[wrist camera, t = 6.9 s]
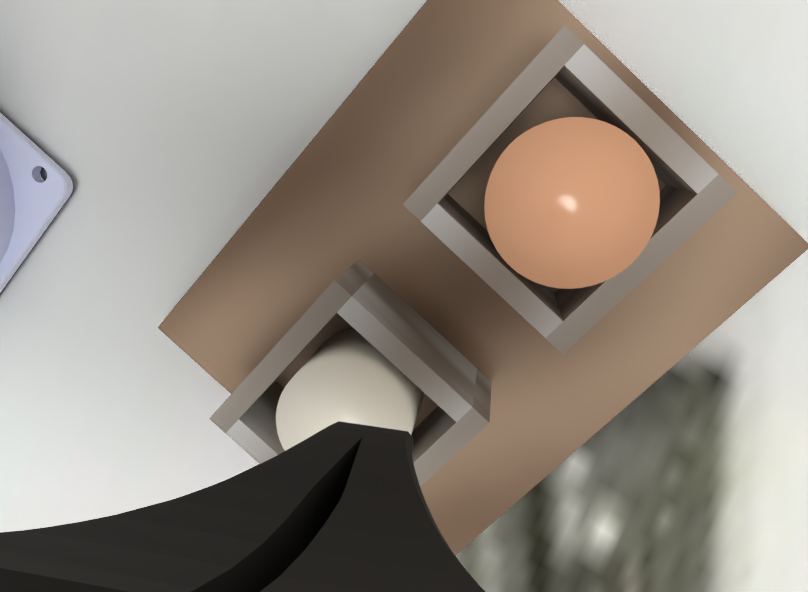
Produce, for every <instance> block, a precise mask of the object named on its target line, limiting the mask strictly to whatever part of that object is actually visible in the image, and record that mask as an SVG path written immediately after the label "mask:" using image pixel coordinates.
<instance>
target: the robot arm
mask: <svg viewBox="0 0 808 592" xmlns="http://www.w3.org/2000/svg"><path fill="white" fill-rule="evenodd" d="M42 167H43V168H44V169H45V170H46V172H47V179H46V181H44V180H43V179H42V177H41V174H40V171H41V168H42ZM72 190H73V183H72V180H71V178H70V176H69V175H68V174H67V173H66V172H65V171H64V170H63V169H62V168H61V167H60V166H59V165H58V164H56V163H55V162H54V161H53V160H52V159H51V158H50V157H49V156H48V155H47V154H45V153H44V152H43V151H42V150H41V149H40V148H39V147H38V146H37V145H36V144H34V143H33V142H32V141H31V140H30V139H29V138H28V137H27V136H26V135H24V134H23V133H22V132H21V131H20V130H19V129H18V128H17V127H16V126H15V125H13V124H12V123H11V122H10V121H9V120H8V119H7V118H6V117H5V116H4V115H2V114H1V113H0V293H1V291H2V290H3V288H4V287H5V286H6V284H7V283H8V282H9V280H10V279H11V277H12V276H13V275H14V273H15V272H16V270H17V269H18V268H19V266H20V265H21V263H22V262H23V261H24V259H25V258H26V256H27V255H28V254H29V252H30V251H31V249H32V248H33V247H34V245H35V244H36V242H37V241H38V240H39V238H40V237H41V236H42V234H43V233H44V231H45V230H46V229H47V227H48V226H49V224H50V223H51V222H52V220H53V219H54V217H55V216H56V215H57V213H58V212H59V210H60V209H61V208H62V206H63V205H64V203H65V202H66V201H67V199H68V198H69V196H70V195H71V193H72ZM413 440H414V439H413V437H412V436H411V435H410V433H409V432H408V431H402V430H395V429H388V428H381V427H375V426H368V425H361V424H354V423H347V422H340V421H338V422H336V423H334V424H332V425H330V426H328V427H326V428H324V429H323V430H321V431H319V432H318V433H316V434H314V435H312V436H311V437H309V438H307V439H305V440H304V441H302V442H300V443H298V444H297V445H295V446H293V447H291V448H290V449H288V450H286V451H284V452H282V453H281V454H279V455H277V456H275V457H273V458H271V459H269V460H267V461H265V462H263V463H261V464H259V465H257V466H255V467H253V468H251V469H249V470H247V471H244V472H242V473H240V474H238V475H236V476H234V477H232V478H230V479H227V480H225V481H223V482H220V483H218V484H215V485H213V486H210V487H208V488H205V489H202V490H199V491H196V492H194V493H191V494H188V495H185V496H182V497H179V498H176V499H173V500H170V501H166V502H162V503H159V504H155V505H151V506H147V507H144V508H140V509H136V510H132V511H129V512H125V513H121V514H117V515H113V516H108V517H103V518H98V519H93V520H88V521H83V522H78V523H72V524H65V525H59V526H53V527H47V528H40V529H32V530H24V531H14V532H3V533H0V592H485V591H484V590H483V589H482V588H481V587H480V586H479V585H478V584H477V582H476V581H475V580H474V579H473V578H472V577H471V575H470V574H469V573H468V572H467V571H466V569H465V568H464V567H463V566H462V565H461V563H460V562H459V560H458V559H457V558H456V556H455V555H454V553H453V552H452V550H451V549H450V547H449V546H448V544H447V542H446V541H445V539H444V537H443V536H442V534H441V532H440V531H439V529H438V527H437V525H436V523H435V521H434V519H433V517H432V515H431V513H430V510H429V508H428V506H427V504H426V501H425V499H424V496H423V494H422V491H421V488H420V485H419V481H418V478H417V475H416V472H415V468H414V463H413V457H412V450H413Z"/></svg>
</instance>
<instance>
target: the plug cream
mask: <svg viewBox="0 0 808 592" xmlns="http://www.w3.org/2000/svg"><path fill="white" fill-rule="evenodd" d="M423 393H424V392H423V391H422V390H421V389H420V388H419V387H417V386H416V385H415V384H414V383H413V382H412V381H411V380H410V379H409V378H408V377H407V376H405V375H404V374H403V373H402V372H401V371H400V370H399V369H398V368H397V367H396V366H395V365H393V364H392V363H391V362H390V361H389V360H388V359H387V358H386V357H385V356H384V355H383V354H381V353H380V352H379V351H378V350H377V349H376V348H375V347H374V346H373V345H372V344H371V343H369V342H368V341H367V340H366V339H365V338H364V337H363V336H362V335H361V334H360V333H359V332H357V331H356V330H355V329H354V328H353V329H348V330H345V331H342V332H339V333H337V334H335V335H333V336H332V337H330V338H329V339H327V340H326V341H325V342H324V343H323V344H322V345H321V346H320V347H319V348H318V349H317V351H316V352H315V353H314V354H313V355H312V356H311V357H310V358H309V360H308V361H307V362H306V363H305V364H304V365H303V366H302V367H301V369H300V370H299V371H298V372H297V373H296V374H295V375H294V376H293V378H292V379H291V380H290V381H289V382H288V384H287V385H286V386H285V388H284V390H283V391H282V393H281V396H280V398H279V401H278V405H277V410H276V427H277V433H278V436H279V440H280V442H281V444H282V447H283V449H284V450H285V451H286V450H288V449H290V448H291V447H293V446H295V445H297V444H298V443H300V442H302V441H304V440H305V439H307V438H309V437H311V436H312V435H314V434H316V433H318V432H319V431H321V430H323V429H324V428H326V427H328V426H330V425H332V424H334V423H336V422H338V421H340V422H347V423H354V424H361V425H368V426H375V427H381V428H388V429H395V430H402V431H408V432H409V433H410V435H411V434H412V431H413V428H414V425H415V422H416V418H417V415H418V412H419V409H420V406H421V403H422V399H423Z"/></svg>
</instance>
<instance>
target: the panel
mask: <svg viewBox="0 0 808 592" xmlns="http://www.w3.org/2000/svg"><path fill="white" fill-rule="evenodd" d="M567 117H585V118H592V119H597V120H600V121H604V122H607V123H609V124H611V125H613V126H616V127H617V128H619V129H621V130H622V131H624V132H625V133H627V134H628V135H629V136H630V137H632V138H633V139H634V140H635V141H636V142H637V143H638V144H639V145H640V146H641V148H642V149H643V150H644V152H645V153H646V154H647V156H648V157H649V159H650V161H651V163H652V165H653V167H654V170H655V173H656V176H657V179H658V185H659V191H660V206H659V214H658V219H657V223H656V226H655V229H654V231H653V234H652V236H651V238H650V240H649V242H648V244H647V245H646V247H645V248H644V250H643V251H642V252H641V254H640V255H639V256H638V257H637V258H636V259H635V260H634V262H633V263H632V264H631V265H629V266H628V267H627V268H626V269H624V270H623V271H622V272H620V273H619V274H617V275H616V276H614V277H612V278H610V279H608V280H606V281H604V282H602V283H599V284H596V285H593V286H588V287H583V288H574V289H562V288H554V287H548V286H545V285H541V284H538V283H536V282H534V281H531V280H529V279H527V278H525V277H524V276H522V275H521V274H519V273H518V272H516V271H515V270H514V269H513V268H512V267H510V266H509V265H508V264H507V263H506V261H505V260H504V259H503V258H502V257H501V255H500V254H499V253H498V251H497V250H496V248H495V246H494V244H493V242H492V240H491V238H490V235H489V232H488V230H487V225H486V221H485V211H484V203H485V193H486V187H487V184H488V181H489V177H490V174H491V172H492V169H493V167H494V165H495V163H496V161H497V159H498V158H499V156H500V154H501V153H502V152H503V150H504V149H505V148H506V147H507V145H508V144H509V143H511V142H512V141H513V140H514V139H515V138H516V137H518V136H519V135H520V134H522V133H523V132H525V131H527V130H529V129H530V128H532V127H535V126H537V125H540V124H542V123H545V122H547V121H551V120H555V119H559V118H567ZM807 249H808V243H807V242H806V241H805V240H804V239H803V238H802V237H801V236H800V235H799V234H798V233H797V232H796V231H795V230H794V229H793V228H792V227H791V226H790V225H788V224H787V223H786V222H785V221H784V220H783V219H782V218H781V217H780V216H779V215H778V214H777V213H776V212H775V211H774V210H773V209H772V208H771V207H770V206H769V205H768V204H767V203H766V202H765V201H764V200H763V199H762V198H761V197H760V196H759V195H758V194H757V193H755V192H754V191H753V190H752V189H751V188H750V187H749V186H748V185H747V184H746V183H745V182H744V181H743V180H742V179H741V178H740V177H739V176H738V175H737V174H736V173H735V172H734V171H733V170H732V169H731V168H730V167H729V166H728V165H727V164H726V163H725V162H724V161H722V160H721V159H720V158H719V157H718V156H717V155H716V154H715V153H714V152H713V151H712V150H711V149H710V148H709V147H708V146H707V145H706V144H705V143H704V142H703V141H702V140H701V139H700V138H699V137H698V136H697V135H696V134H695V133H694V132H693V131H692V130H691V129H689V128H688V127H687V126H686V125H685V124H684V123H683V122H682V121H681V120H680V119H679V118H678V117H677V116H676V115H675V114H674V113H673V112H672V111H671V110H670V109H669V108H668V107H667V106H666V105H665V104H664V103H663V102H662V101H661V100H660V99H659V98H658V97H656V96H655V95H654V94H653V93H652V92H651V91H650V90H649V89H648V88H647V87H646V86H645V85H644V84H643V83H642V82H641V81H640V80H639V79H638V78H637V77H636V76H635V75H634V74H633V73H632V72H631V71H630V70H629V69H628V68H627V67H626V66H625V65H623V64H622V63H621V62H620V61H619V60H618V59H617V58H616V57H615V56H614V55H613V54H612V53H611V52H610V51H609V50H608V49H607V48H606V47H605V46H604V45H603V44H602V43H601V42H600V41H599V40H598V39H597V38H596V37H595V36H594V35H593V34H591V33H590V32H589V31H588V30H587V29H586V28H585V27H584V26H583V25H582V24H581V23H580V22H579V21H578V20H577V19H576V18H575V17H574V16H573V15H572V14H571V13H570V12H569V11H568V10H567V9H566V8H565V7H564V6H563V5H562V4H561V3H560V2H558V1H557V0H427V1H426V3H425V4H424V5H423V6H422V7H421V9H420V10H419V11H418V12H417V14H416V15H415V16H414V17H413V18H412V20H411V21H410V22H409V23H408V24H407V26H406V27H405V28H404V29H403V31H402V32H401V33H400V34H399V35H398V37H397V38H396V39H395V40H394V41H393V43H392V44H391V45H390V46H389V48H388V49H387V50H386V51H385V52H384V54H383V55H382V56H381V57H380V58H379V60H378V61H377V62H376V63H375V65H374V66H373V67H372V68H371V69H370V71H369V72H368V73H367V74H366V75H365V77H364V78H363V79H362V80H361V82H360V83H359V84H358V85H357V86H356V88H355V89H354V90H353V91H352V92H351V94H350V95H349V96H348V97H347V99H346V100H345V101H344V102H343V103H342V105H341V106H340V107H339V108H338V109H337V111H336V112H335V113H334V114H333V116H332V117H331V118H330V119H329V120H328V122H327V123H326V124H325V125H324V126H323V128H322V129H321V130H320V131H319V133H318V134H317V135H316V136H315V137H314V139H313V140H312V141H311V142H310V143H309V145H308V146H307V147H306V148H305V150H304V151H303V152H302V153H301V154H300V156H299V157H298V158H297V159H296V160H295V162H294V163H293V164H292V165H291V166H290V168H289V169H288V170H287V171H286V173H285V174H284V175H283V176H282V177H281V179H280V180H279V181H278V182H277V183H276V185H275V186H274V187H273V188H272V190H271V191H270V192H269V193H268V194H267V196H266V197H265V198H264V199H263V200H262V202H261V203H260V204H259V205H258V207H257V208H256V209H255V210H254V211H253V213H252V214H251V215H250V216H249V217H248V219H247V220H246V221H245V222H244V224H243V225H242V226H241V227H240V228H239V230H238V231H237V232H236V233H235V234H234V236H233V237H232V238H231V239H230V241H229V242H228V243H227V244H226V245H225V247H224V248H223V249H222V250H221V251H220V253H219V254H218V255H217V256H216V258H215V259H214V260H213V261H212V262H211V264H210V265H209V266H208V267H207V268H206V270H205V271H204V272H203V273H202V275H201V276H200V277H199V278H198V279H197V281H196V282H195V283H194V284H193V285H192V287H191V288H190V289H189V290H188V292H187V293H186V294H185V295H184V296H183V298H182V299H181V300H180V301H179V302H178V304H177V305H176V306H175V307H174V309H173V310H172V311H171V312H170V313H169V315H168V316H167V317H166V318H165V319H164V321H163V322H162V323H161V324H160V326H159V327H158V328H159V329H160V330H161V331H162V332H163V333H164V334H165V335H166V336H168V337H169V338H170V339H171V340H172V341H173V342H174V343H175V344H176V345H178V346H179V347H180V348H181V349H182V350H183V351H184V352H185V353H186V354H188V355H189V356H190V357H191V358H192V359H193V360H194V361H195V362H196V363H198V364H199V365H200V366H201V367H202V368H203V369H204V370H205V371H207V372H208V373H209V374H210V375H211V376H212V377H213V378H214V379H215V380H217V381H218V382H219V383H220V384H221V385H222V386H223V387H224V388H225V389H227V390H228V391H229V392H230V393H231V395H230V396H229V398H228V399H227V400H226V401H225V402H224V403H223V404H222V405H221V406H220V408H219V409H218V410H217V411H216V412H215V413H214V414H213V415H212V416H211V418H210V420H211V421H213V422H214V423H215V424H216V425H217V426H218V427H219V428H220V429H222V430H223V431H224V432H225V433H226V434H227V435H228V436H229V437H230V438H232V439H233V440H234V441H235V442H236V443H237V444H238V445H239V446H241V447H242V448H243V449H244V450H245V451H246V452H247V453H248V454H249V455H251V456H252V457H253V458H254V459H255V460H256V461H257V462H258V463H260V464H261V463H263V462H265V461H267V460H269V459H271V458H273V457H275V456H277V455H279V454H281V453H282V452H284V451H285V450H284V449H283V447H282V444H281V442H280V440H279V436H278V433H277V427H276V410H277V405H278V401H279V398H280V396H281V393H282V391H283V390H284V388H285V386H286V385H287V384H288V382H289V381H290V380H291V379H292V378H293V376H294V375H295V374H296V373H297V372H298V371H299V370H300V369H301V367H302V366H303V365H304V364H305V363H306V362H307V361H308V360H309V358H310V357H311V356H312V355H313V354H314V353H315V352H316V351H317V349H318V348H319V347H320V346H321V345H322V344H323V343H324V342H325V341H326V340H327V339H329V338H330V337H332V336H333V335H335V334H337V333H339V332H342V331H345V330H348V329H353V328H354V329H355V330H356V331H357V332H359V333H360V334H361V335H362V336H363V337H364V338H365V339H366V340H367V341H368V342H369V343H371V344H372V345H373V346H374V347H375V348H376V349H377V350H378V351H379V352H380V353H381V354H383V355H384V356H385V357H386V358H387V359H388V360H389V361H390V362H391V363H392V364H393V365H395V366H396V367H397V368H398V369H399V370H400V371H401V372H402V373H403V374H404V375H405V376H407V377H408V378H409V379H410V380H411V381H412V382H413V383H414V384H415V385H416V386H417V387H419V388H420V389H421V390H422V391H423V392H424V393H423V399H422V403H421V406H420V409H419V412H418V415H417V418H416V422H415V425H414V428H413V431H412V434H411V436H412V437H413V439H414V440H413V450H412V457H413V463H414V468H415V472H416V475H417V478H418V481H419V485H420V488H421V491H422V494H423V496H424V499H425V501H426V504H427V506H428V508H429V510H430V513H431V515H432V517H433V519H434V521H435V523H436V525H437V527H438V529H439V531H440V532H441V534H442V536H443V537H444V539H445V541H446V542H447V544H448V546H449V547H450V549H451V550H452V552H453V553H454V555H456V554H457V553H458V552H460V551H461V550H462V549H463V548H464V547H465V546H466V545H468V544H469V543H470V542H471V541H472V540H473V539H474V538H476V537H477V536H478V535H479V534H480V533H481V532H483V531H484V530H485V529H486V528H487V527H488V526H489V525H491V524H492V523H493V522H494V521H495V520H496V519H497V518H499V517H500V516H501V515H502V514H503V513H504V512H506V511H507V510H508V509H509V508H510V507H511V506H512V505H514V504H515V503H516V502H517V501H518V500H519V499H521V498H522V497H523V496H524V495H525V494H526V493H527V492H529V491H530V490H531V489H532V488H533V487H534V486H535V485H537V484H538V483H539V482H540V481H541V480H542V479H544V478H545V477H546V476H547V475H548V474H549V473H550V472H552V471H553V470H554V469H555V468H556V467H557V466H558V465H560V464H561V463H562V462H563V461H564V460H565V459H567V458H568V457H569V456H570V455H571V454H572V453H573V452H575V451H576V450H577V449H578V448H579V447H580V446H582V445H583V444H584V443H585V442H586V441H587V440H588V439H590V438H591V437H592V436H593V435H594V434H595V433H596V432H598V431H599V430H600V429H601V428H602V427H603V426H605V425H606V424H607V423H608V422H609V421H610V420H611V419H613V418H614V417H615V416H616V415H617V414H618V413H619V412H621V411H622V410H623V409H624V408H625V407H626V406H628V405H629V404H630V403H631V402H632V401H633V400H634V399H636V398H637V397H638V396H639V395H640V394H641V393H642V392H644V391H645V390H646V389H647V388H648V387H649V386H651V385H652V384H653V383H654V382H655V381H656V380H657V379H659V378H660V377H661V376H662V375H663V374H664V373H666V372H667V371H668V370H669V369H670V368H671V367H672V366H674V365H675V364H676V363H677V362H678V361H679V360H680V359H682V358H683V357H684V356H685V355H686V354H687V353H689V352H690V351H691V350H692V349H693V348H694V347H695V346H697V345H698V344H699V343H700V342H701V341H702V340H703V339H705V338H706V337H707V336H708V335H709V334H710V333H712V332H713V331H714V330H715V329H716V328H717V327H718V326H720V325H721V324H722V323H723V322H724V321H725V320H727V319H728V318H729V317H730V316H731V315H732V314H733V313H735V312H736V311H737V310H738V309H739V308H740V307H741V306H743V305H744V304H745V303H746V302H747V301H748V300H750V299H751V298H752V297H753V296H754V295H755V294H756V293H758V292H759V291H760V290H761V289H762V288H763V287H764V286H766V285H767V284H768V283H769V282H770V281H771V280H773V279H774V278H775V277H776V276H777V275H778V274H779V273H781V272H782V271H783V270H784V269H785V268H786V267H788V266H789V265H790V264H791V263H792V262H793V261H794V260H796V259H797V258H798V257H799V256H800V255H801V254H802V253H804V252H805V251H806V250H807Z"/></svg>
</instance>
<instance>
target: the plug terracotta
mask: <svg viewBox="0 0 808 592" xmlns="http://www.w3.org/2000/svg"><path fill="white" fill-rule="evenodd" d="M659 206H660V191H659V185H658V179H657V176H656V173H655V170H654V167H653V165H652V163H651V161H650V159H649V157H648V156H647V154H646V153H645V152H644V150H643V149H642V148H641V146H640V145H639V144H638V143H637V142H636V141H635V140H634V139H633V138H632V137H630V136H629V135H628V134H627V133H625V132H624V131H622V130H621V129H619V128H617V127H616V126H613V125H611V124H609V123H607V122H604V121H600V120H597V119H592V118H585V117H567V118H559V119H555V120H551V121H547V122H545V123H542V124H540V125H537V126H535V127H532V128H530V129H529V130H527V131H525V132H523V133H522V134H520V135H519V136H518V137H516V138H515V139H514V140H513V141H512V142H511V143H509V144H508V145H507V147H506V148H505V149H504V150H503V152H502V153H501V154H500V156H499V158H498V159H497V161H496V163H495V165H494V167H493V169H492V172H491V174H490V177H489V181H488V184H487V187H486V193H485V203H484V211H485V221H486V225H487V230H488V232H489V235H490V238H491V240H492V242H493V244H494V246H495V248H496V250H497V251H498V253H499V254H500V255H501V257H502V258H503V259H504V260H505V261H506V263H507V264H508V265H509V266H510V267H512V268H513V269H514V270H515V271H516V272H518V273H519V274H521V275H522V276H524V277H525V278H527V279H529V280H531V281H534V282H536V283H538V284H541V285H545V286H548V287H554V288H562V289H574V288H583V287H588V286H593V285H596V284H599V283H602V282H604V281H606V280H608V279H610V278H612V277H614V276H616V275H617V274H619V273H620V272H622V271H623V270H624V269H626V268H627V267H628V266H629V265H631V264H632V263H633V262H634V260H635V259H636V258H637V257H638V256H639V255H640V254H641V252H642V251H643V250H644V248H645V247H646V245H647V244H648V242H649V240H650V238H651V236H652V234H653V231H654V229H655V226H656V223H657V219H658V214H659Z"/></svg>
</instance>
